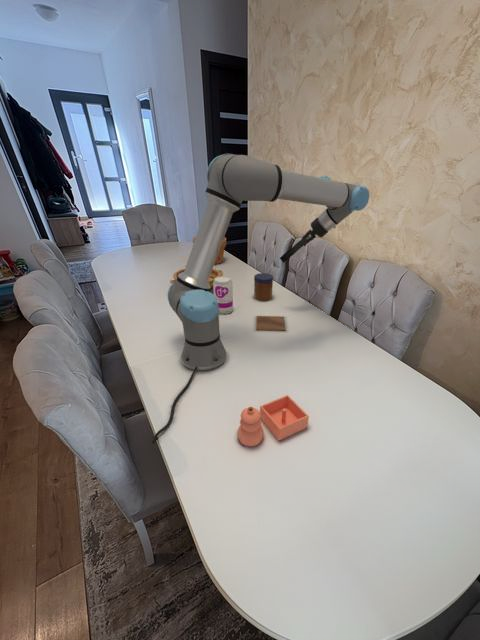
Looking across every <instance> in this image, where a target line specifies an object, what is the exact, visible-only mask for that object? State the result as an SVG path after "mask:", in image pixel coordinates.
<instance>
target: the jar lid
mask: <svg viewBox="0 0 480 640" xmlns="http://www.w3.org/2000/svg"><path fill="white" fill-rule="evenodd" d="M253 281H256V282H258V283H270V282H272V281H273V282H274V276H273V275H272V274H270V273H267V272H265V273H264V272H261V273H256V274H254V276H253Z"/></svg>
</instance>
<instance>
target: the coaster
mask: <svg viewBox="0 0 480 640" xmlns="http://www.w3.org/2000/svg"><path fill="white" fill-rule="evenodd" d="M286 330H287V328H286V321H285V317H284V316H275V315H273V316H272V315H271V316H270V315H256V331H266V332H267V331H268V332H271V331H272V332H279V331H280V332H286Z"/></svg>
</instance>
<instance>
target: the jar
mask: <svg viewBox="0 0 480 640" xmlns="http://www.w3.org/2000/svg"><path fill="white" fill-rule="evenodd" d="M253 281H254V280H253ZM273 282H274V280H273V281H272V282H270V283H258V282H256V281H254V283H253V292H254V293H253V298H254V300H256V301H258V302H259V301H260V302H268V301H271V300H272V299H273Z"/></svg>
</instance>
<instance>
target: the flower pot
mask: <svg viewBox="0 0 480 640" xmlns="http://www.w3.org/2000/svg"><path fill="white" fill-rule="evenodd" d="M195 238H196V236H195V237H193V238H192V245H193V244H194V241H195ZM226 247H227V238H226V236H224V239H223V242H222V244H221V247H220V250H219V252H218V255H217V258H216V261H215V263H214V265H218V264H221V263H222V262H223V261H224V260H223V259H224V253H225V248H226Z"/></svg>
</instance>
